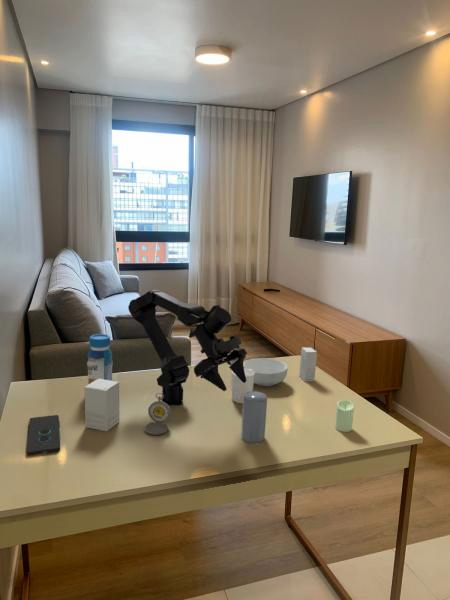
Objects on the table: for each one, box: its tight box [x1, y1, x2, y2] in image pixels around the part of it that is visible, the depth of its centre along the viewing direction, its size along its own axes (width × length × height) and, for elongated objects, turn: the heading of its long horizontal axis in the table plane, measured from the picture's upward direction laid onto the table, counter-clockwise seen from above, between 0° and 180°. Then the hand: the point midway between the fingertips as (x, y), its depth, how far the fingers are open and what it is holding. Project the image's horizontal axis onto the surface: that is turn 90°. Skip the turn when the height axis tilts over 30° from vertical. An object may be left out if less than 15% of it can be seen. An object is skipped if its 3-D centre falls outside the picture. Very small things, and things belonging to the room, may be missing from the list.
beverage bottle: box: [86, 333, 114, 385], centre depth 154 cm, size 8×8×20 cm
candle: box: [334, 399, 355, 433], centre depth 137 cm, size 5×5×8 cm
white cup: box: [230, 368, 255, 404], centre depth 155 cm, size 8×8×10 cm
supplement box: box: [83, 379, 121, 432], centre depth 132 cm, size 7×7×13 cm
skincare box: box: [298, 347, 318, 382], centre depth 177 cm, size 6×4×12 cm
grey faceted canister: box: [240, 390, 268, 443], centre depth 129 cm, size 7×7×12 cm
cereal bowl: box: [243, 357, 289, 387], centre depth 172 cm, size 17×17×7 cm
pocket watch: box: [144, 392, 171, 436], centre depth 131 cm, size 8×8×10 cm
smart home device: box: [26, 414, 61, 457], centre depth 125 cm, size 8×2×20 cm
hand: (235, 386), depth 132 cm, fingers open, 9 cm apart
